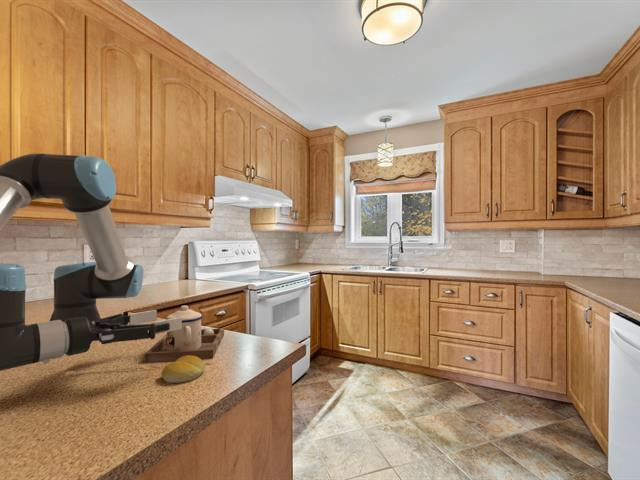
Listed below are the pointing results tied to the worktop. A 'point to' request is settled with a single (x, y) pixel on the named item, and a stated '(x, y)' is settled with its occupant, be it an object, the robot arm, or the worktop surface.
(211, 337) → the parts tray
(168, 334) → the teacup with lid
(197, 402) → the worktop surface
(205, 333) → the pebble
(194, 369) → the bread roll
